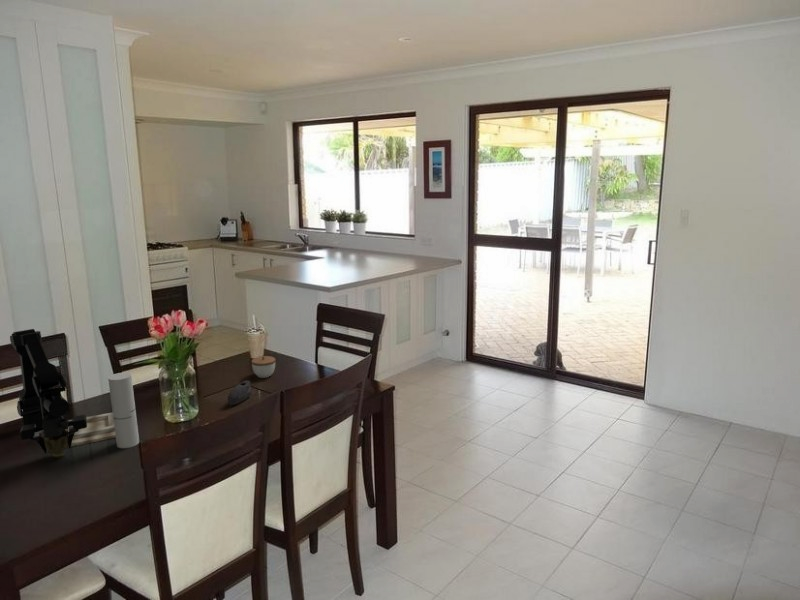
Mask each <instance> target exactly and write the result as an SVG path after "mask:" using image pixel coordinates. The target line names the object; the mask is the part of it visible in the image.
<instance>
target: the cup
mask: <svg viewBox="0 0 800 600" xmlns="http://www.w3.org/2000/svg"><path fill="white" fill-rule="evenodd" d="M43 436H44V435H43ZM43 441H44V444H45V447H46V449H47V453H49V454H51V456H52V457H53V458H55V459H58V458H62V457H64V456H65V453H66V452H65V451H66V450H67V449H69V447H68V444H69V432H68V431H67V432H66V430H64V431H62V434H61V435H59V436H52V437H49V438H46V437H45V436H44V437H43Z"/></svg>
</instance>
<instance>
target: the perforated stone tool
mask: <svg viewBox="0 0 800 600" xmlns="http://www.w3.org/2000/svg"><path fill="white" fill-rule="evenodd" d="M251 394H252V386H251V381H250V380H247V379H245V380H244V381H241V382H240V383H238V384H237V385H236V386H235V387H233V389H232V390H230V392H229V394H228V396H227V402H228V405H230V406H235V405H238V404H240V403H242V402H244V401H245V400H246V399H248V398H249V397H250V396H251Z"/></svg>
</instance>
